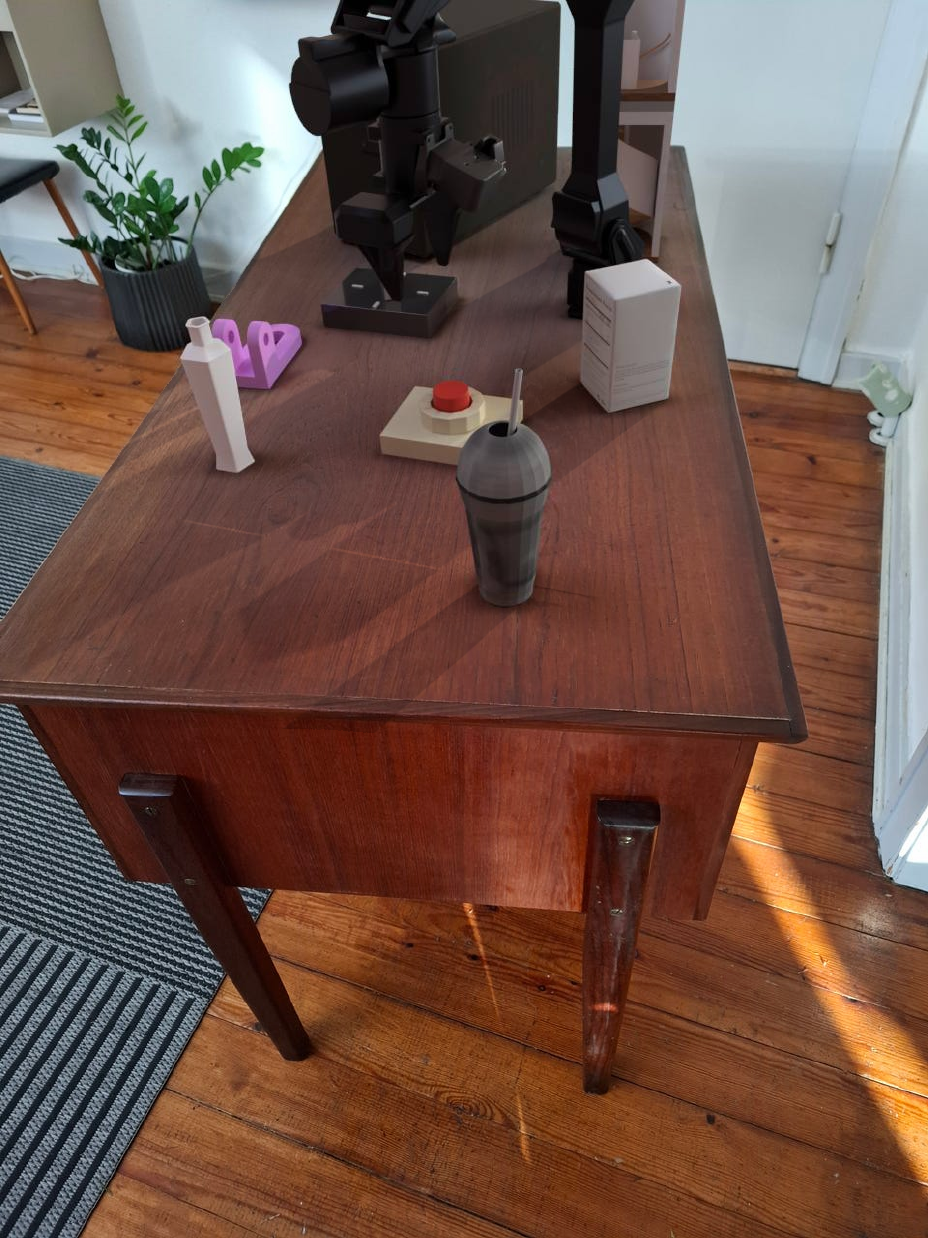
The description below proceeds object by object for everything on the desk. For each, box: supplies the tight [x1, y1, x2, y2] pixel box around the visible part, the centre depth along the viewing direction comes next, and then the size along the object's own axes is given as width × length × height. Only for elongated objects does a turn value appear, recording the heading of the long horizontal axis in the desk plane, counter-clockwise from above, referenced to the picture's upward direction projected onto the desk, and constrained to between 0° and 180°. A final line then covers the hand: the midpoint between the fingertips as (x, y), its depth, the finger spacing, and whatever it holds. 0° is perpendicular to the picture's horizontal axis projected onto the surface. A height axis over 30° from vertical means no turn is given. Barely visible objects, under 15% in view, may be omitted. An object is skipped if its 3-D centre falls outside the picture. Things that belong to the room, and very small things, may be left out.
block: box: [379, 385, 524, 466], centre depth 91 cm, size 12×10×4 cm
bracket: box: [211, 318, 303, 390], centre depth 103 cm, size 13×6×7 cm, turn 167°
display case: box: [617, 0, 687, 267], centre depth 111 cm, size 11×11×35 cm
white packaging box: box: [579, 259, 682, 414], centre depth 93 cm, size 7×7×13 cm
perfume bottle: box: [179, 316, 256, 474], centre depth 85 cm, size 5×4×15 cm
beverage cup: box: [455, 368, 553, 607], centre depth 68 cm, size 7×7×20 cm
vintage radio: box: [320, 0, 562, 258], centre depth 129 cm, size 38×20×25 cm, turn 144°
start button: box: [432, 380, 469, 413], centre depth 89 cm, size 4×4×2 cm
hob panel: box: [320, 267, 459, 339], centre depth 112 cm, size 14×11×3 cm
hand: (420, 282), depth 90 cm, fingers open, 9 cm apart
